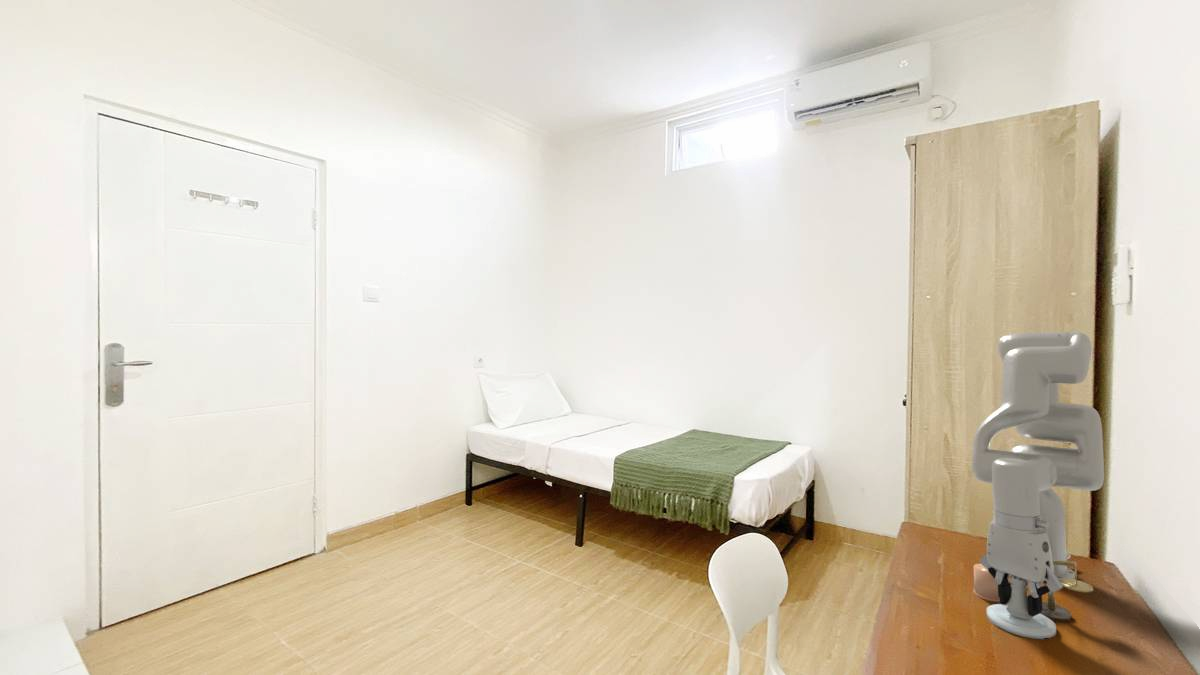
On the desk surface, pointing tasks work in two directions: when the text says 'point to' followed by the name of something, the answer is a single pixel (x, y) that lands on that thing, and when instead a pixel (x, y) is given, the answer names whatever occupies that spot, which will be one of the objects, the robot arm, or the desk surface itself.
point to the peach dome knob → (985, 584)
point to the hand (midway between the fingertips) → (1019, 607)
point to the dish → (1021, 623)
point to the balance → (1055, 610)
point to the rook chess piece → (1018, 598)
